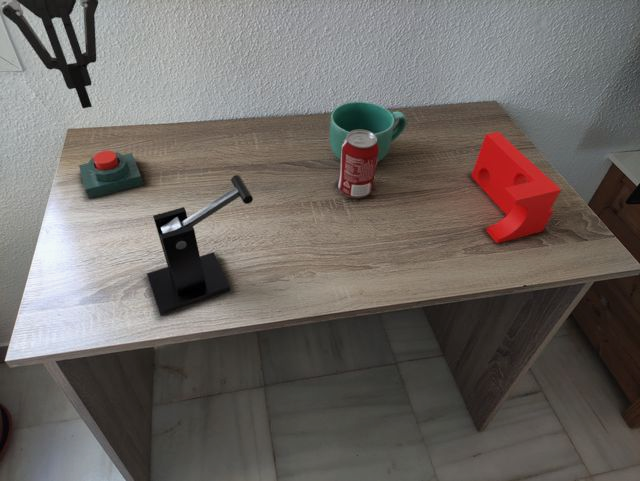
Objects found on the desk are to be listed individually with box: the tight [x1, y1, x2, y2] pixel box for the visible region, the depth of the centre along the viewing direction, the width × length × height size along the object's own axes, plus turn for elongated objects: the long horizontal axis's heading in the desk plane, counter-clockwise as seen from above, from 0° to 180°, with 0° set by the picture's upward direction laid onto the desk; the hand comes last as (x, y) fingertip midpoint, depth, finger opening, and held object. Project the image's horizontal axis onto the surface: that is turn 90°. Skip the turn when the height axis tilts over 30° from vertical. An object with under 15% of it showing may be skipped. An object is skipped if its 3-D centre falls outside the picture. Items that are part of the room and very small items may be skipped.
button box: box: [78, 151, 144, 199], centre depth 90 cm, size 10×8×4 cm
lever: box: [161, 174, 254, 233], centre depth 66 cm, size 13×5×2 cm, turn 117°
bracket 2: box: [471, 131, 562, 244], centre depth 87 cm, size 18×10×10 cm
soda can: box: [337, 130, 379, 199], centre depth 88 cm, size 7×7×12 cm
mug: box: [329, 101, 407, 163], centre depth 97 cm, size 17×13×10 cm
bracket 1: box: [146, 206, 231, 316], centre depth 69 cm, size 11×8×14 cm
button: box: [93, 150, 119, 171], centre depth 88 cm, size 4×4×2 cm
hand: (86, 103), depth 79 cm, fingers closed
